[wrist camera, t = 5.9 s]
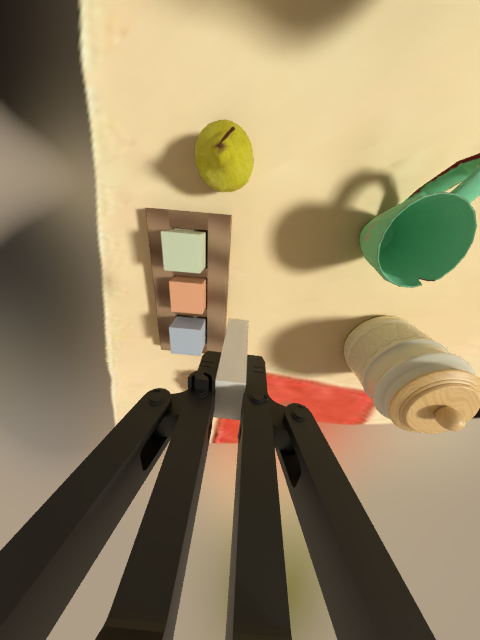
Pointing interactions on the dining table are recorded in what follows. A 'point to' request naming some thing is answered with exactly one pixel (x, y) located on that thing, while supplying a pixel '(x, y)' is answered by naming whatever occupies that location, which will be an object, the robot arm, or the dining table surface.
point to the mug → (426, 228)
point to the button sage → (183, 250)
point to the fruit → (224, 156)
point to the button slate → (187, 336)
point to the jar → (412, 376)
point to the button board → (214, 272)
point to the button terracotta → (188, 294)
